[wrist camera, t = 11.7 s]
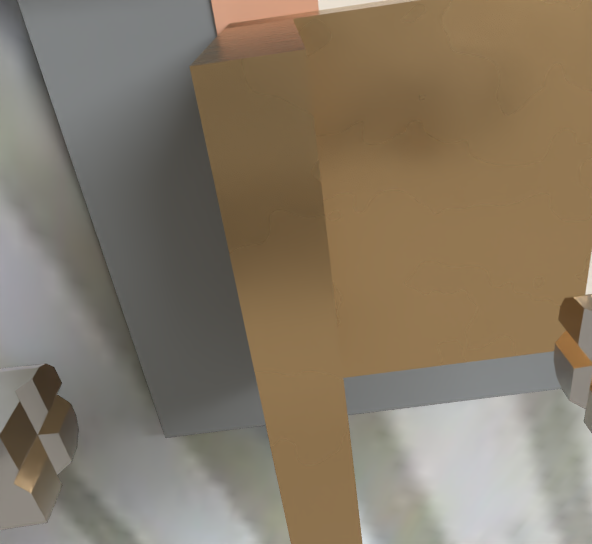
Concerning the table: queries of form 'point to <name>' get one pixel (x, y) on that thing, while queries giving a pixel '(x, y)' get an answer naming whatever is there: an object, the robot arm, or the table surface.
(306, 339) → the bracket
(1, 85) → the table surface
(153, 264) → the arena mat
